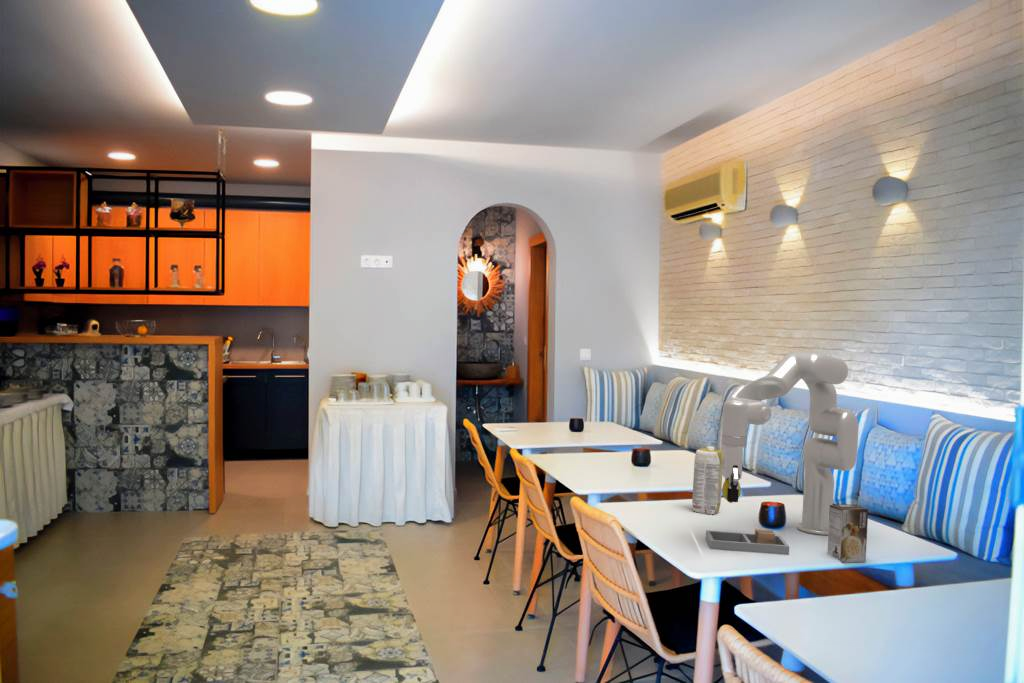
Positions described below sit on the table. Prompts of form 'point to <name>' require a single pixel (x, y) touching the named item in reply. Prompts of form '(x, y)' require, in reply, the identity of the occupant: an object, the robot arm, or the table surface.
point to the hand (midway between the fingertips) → (730, 498)
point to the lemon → (725, 489)
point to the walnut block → (764, 536)
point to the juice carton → (707, 480)
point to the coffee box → (847, 533)
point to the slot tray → (744, 543)
